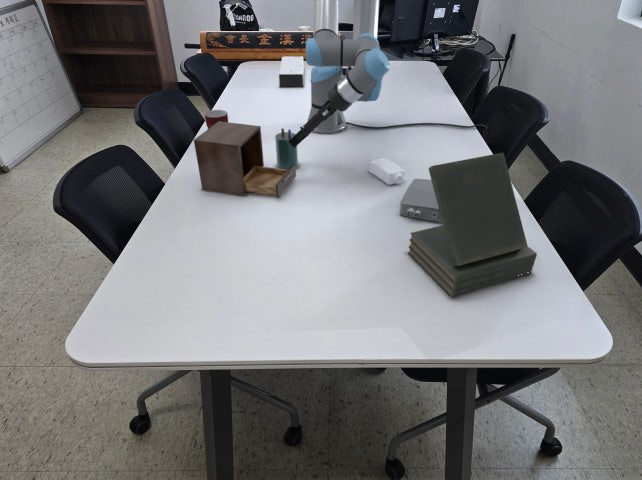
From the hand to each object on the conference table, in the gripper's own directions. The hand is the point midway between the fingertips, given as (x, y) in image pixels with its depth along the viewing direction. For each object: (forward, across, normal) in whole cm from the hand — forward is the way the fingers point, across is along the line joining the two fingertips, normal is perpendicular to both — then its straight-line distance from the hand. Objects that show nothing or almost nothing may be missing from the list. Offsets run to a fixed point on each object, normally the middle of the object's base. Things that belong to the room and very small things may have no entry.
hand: (299, 136), depth 159 cm
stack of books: (-34, +40, +49) cm, 72 cm away
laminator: (+36, -98, -20) cm, 107 cm away
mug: (+34, -12, -18) cm, 40 cm away
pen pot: (+11, 0, +4) cm, 12 cm away
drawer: (+10, +16, +3) cm, 19 cm away
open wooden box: (+19, +16, -4) cm, 25 cm away
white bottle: (-13, -1, +28) cm, 31 cm away
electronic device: (-27, +15, +42) cm, 52 cm away
